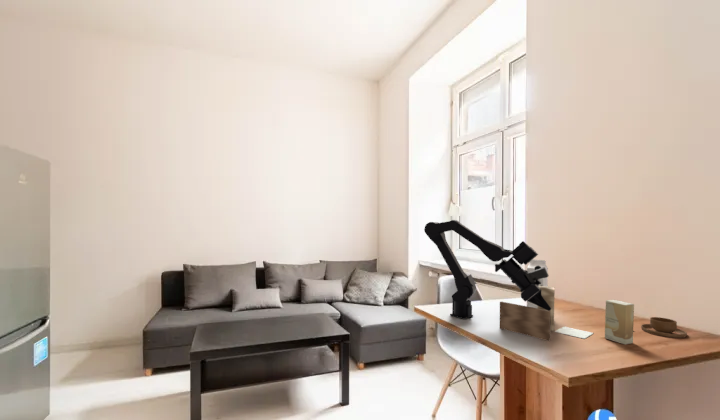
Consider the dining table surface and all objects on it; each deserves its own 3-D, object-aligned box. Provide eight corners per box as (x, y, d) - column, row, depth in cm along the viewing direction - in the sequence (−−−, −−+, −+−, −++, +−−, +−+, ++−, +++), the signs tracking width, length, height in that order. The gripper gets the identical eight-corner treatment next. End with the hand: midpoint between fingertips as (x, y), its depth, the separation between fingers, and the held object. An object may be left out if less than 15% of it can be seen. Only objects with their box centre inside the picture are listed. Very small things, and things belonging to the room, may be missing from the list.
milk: (543, 318, 136) (543, 261, 136) (526, 315, 140) (526, 259, 140) (547, 315, 140) (548, 259, 141) (531, 312, 144) (531, 258, 145)
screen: (499, 328, 122) (499, 302, 122) (501, 327, 123) (501, 301, 123) (548, 340, 110) (548, 311, 110) (550, 340, 111) (550, 311, 111)
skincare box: (604, 338, 114) (604, 300, 114) (612, 336, 115) (612, 299, 116) (625, 345, 108) (625, 304, 108) (634, 343, 109) (634, 303, 110)
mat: (554, 331, 119) (554, 331, 119) (564, 327, 125) (564, 326, 125) (584, 339, 113) (584, 338, 113) (593, 333, 118) (593, 332, 119)
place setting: (675, 343, 112) (675, 324, 112) (604, 326, 129) (604, 310, 129) (695, 335, 121) (695, 317, 121) (626, 320, 138) (626, 305, 138)
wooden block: (537, 328, 122) (538, 287, 123) (537, 325, 127) (538, 285, 127) (553, 331, 120) (554, 289, 120) (553, 327, 124) (554, 287, 125)
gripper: (532, 261, 118) (570, 298, 112) (534, 256, 134) (568, 289, 128) (506, 282, 121) (542, 320, 116) (512, 275, 138) (543, 308, 132)
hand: (550, 308), depth 123 cm, fingers closed on wooden block, 5 cm apart
